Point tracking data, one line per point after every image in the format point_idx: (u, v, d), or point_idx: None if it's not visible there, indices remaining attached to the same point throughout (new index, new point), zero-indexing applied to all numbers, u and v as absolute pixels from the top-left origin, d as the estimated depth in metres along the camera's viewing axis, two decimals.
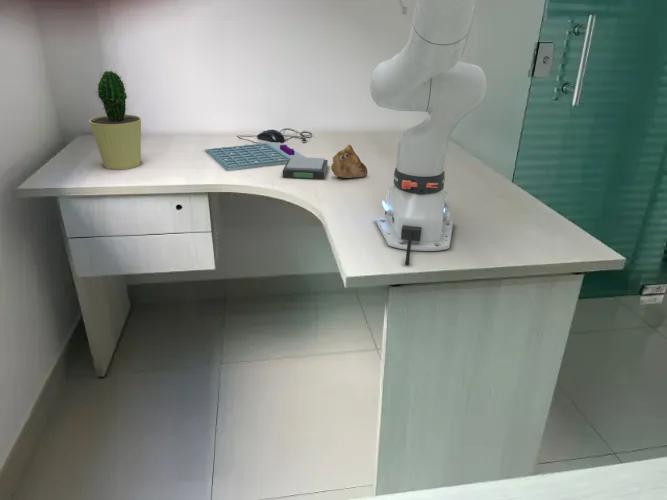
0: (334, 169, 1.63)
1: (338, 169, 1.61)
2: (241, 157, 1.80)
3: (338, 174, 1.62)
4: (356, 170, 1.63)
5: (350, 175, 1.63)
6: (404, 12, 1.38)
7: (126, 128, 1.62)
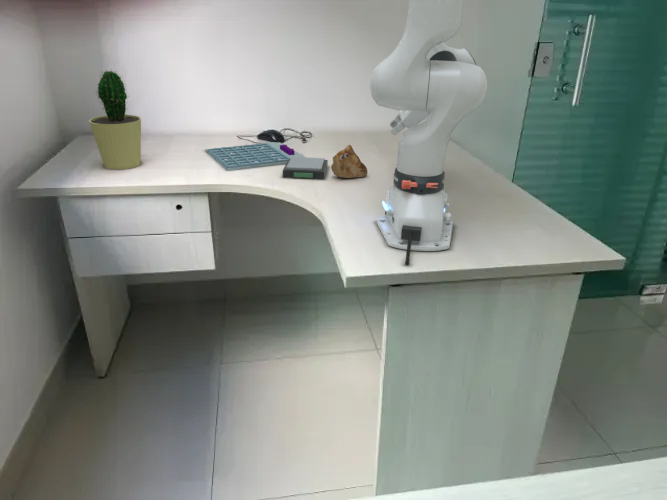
0: (334, 169, 1.63)
1: (338, 169, 1.61)
2: (241, 157, 1.80)
3: (338, 174, 1.62)
4: (356, 170, 1.63)
5: (350, 175, 1.63)
6: (390, 123, 1.62)
7: (126, 128, 1.62)
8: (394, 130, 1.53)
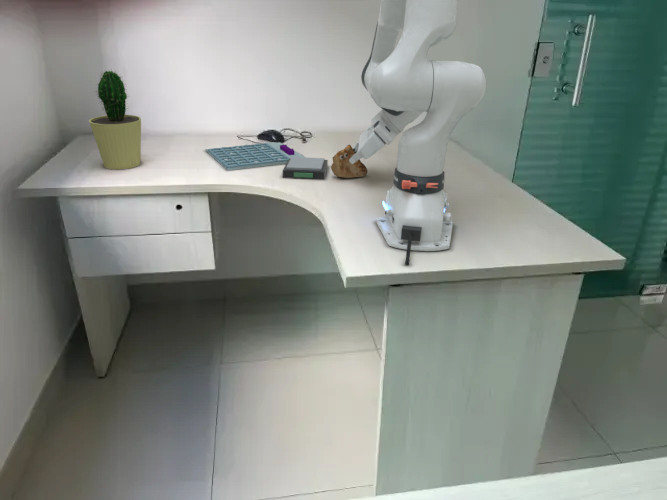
0: (334, 169, 1.63)
1: (338, 169, 1.61)
2: (241, 157, 1.80)
3: (338, 174, 1.62)
4: (355, 170, 1.63)
5: (350, 175, 1.63)
6: None
7: (126, 128, 1.62)
8: (352, 159, 1.57)
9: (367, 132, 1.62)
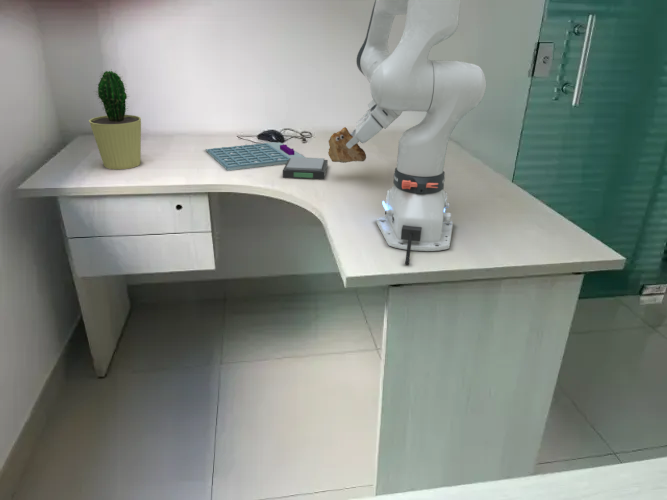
0: (331, 154, 1.59)
1: (335, 152, 1.57)
2: (241, 157, 1.80)
3: (336, 158, 1.59)
4: (353, 153, 1.59)
5: (348, 158, 1.59)
6: None
7: (126, 128, 1.62)
8: (349, 143, 1.56)
9: (364, 117, 1.60)
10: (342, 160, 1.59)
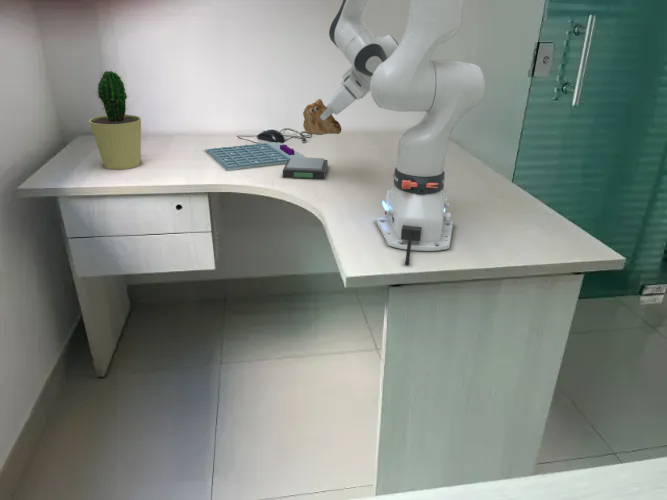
0: (306, 126, 1.59)
1: (309, 124, 1.57)
2: (241, 157, 1.80)
3: (310, 130, 1.58)
4: (328, 125, 1.59)
5: (323, 131, 1.59)
6: None
7: (126, 128, 1.62)
8: (323, 115, 1.55)
9: (339, 90, 1.59)
10: (317, 132, 1.58)
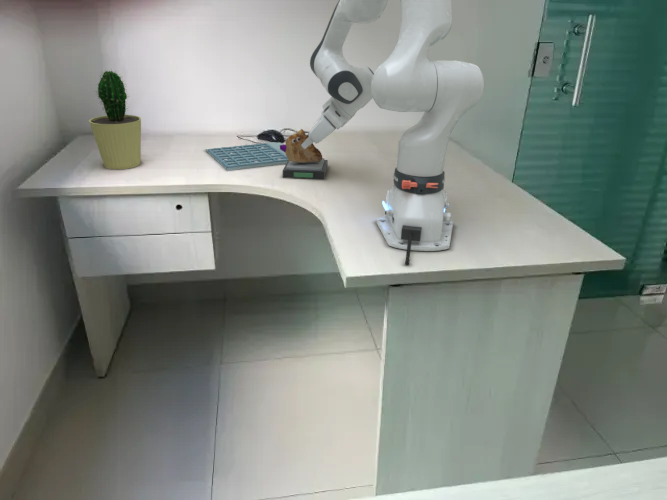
0: (288, 154, 1.64)
1: (291, 153, 1.62)
2: (241, 157, 1.80)
3: (292, 159, 1.64)
4: (309, 154, 1.64)
5: (304, 159, 1.64)
6: None
7: (126, 128, 1.62)
8: (304, 144, 1.60)
9: (320, 118, 1.65)
10: (298, 161, 1.64)
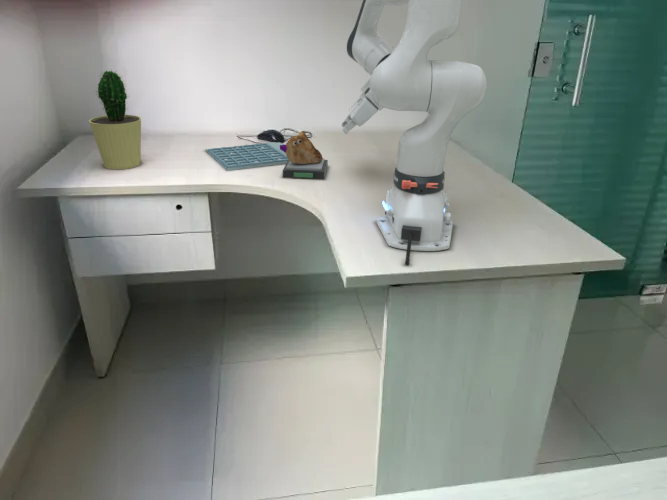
0: (288, 155, 1.64)
1: (292, 155, 1.62)
2: (241, 157, 1.80)
3: (292, 160, 1.64)
4: (310, 156, 1.64)
5: (305, 161, 1.65)
6: (342, 123, 1.66)
7: (126, 128, 1.62)
8: (345, 129, 1.57)
9: (357, 103, 1.62)
10: (298, 162, 1.64)
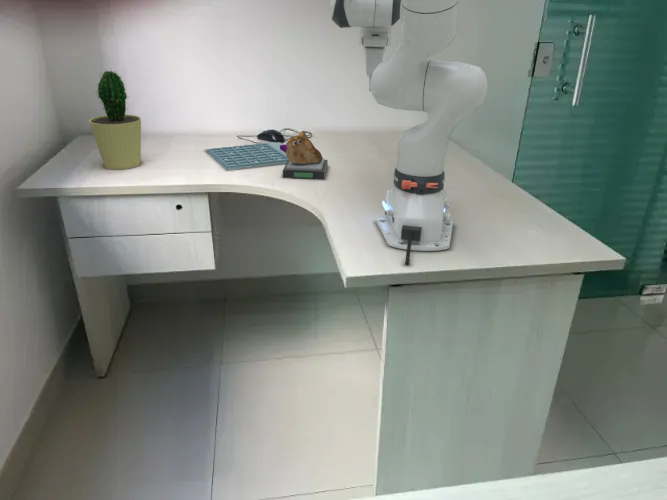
0: (288, 155, 1.64)
1: (292, 155, 1.62)
2: (241, 157, 1.80)
3: (292, 160, 1.64)
4: (310, 156, 1.64)
5: (305, 161, 1.65)
6: None
7: (126, 128, 1.62)
8: (371, 87, 1.49)
9: None
10: (298, 162, 1.64)
